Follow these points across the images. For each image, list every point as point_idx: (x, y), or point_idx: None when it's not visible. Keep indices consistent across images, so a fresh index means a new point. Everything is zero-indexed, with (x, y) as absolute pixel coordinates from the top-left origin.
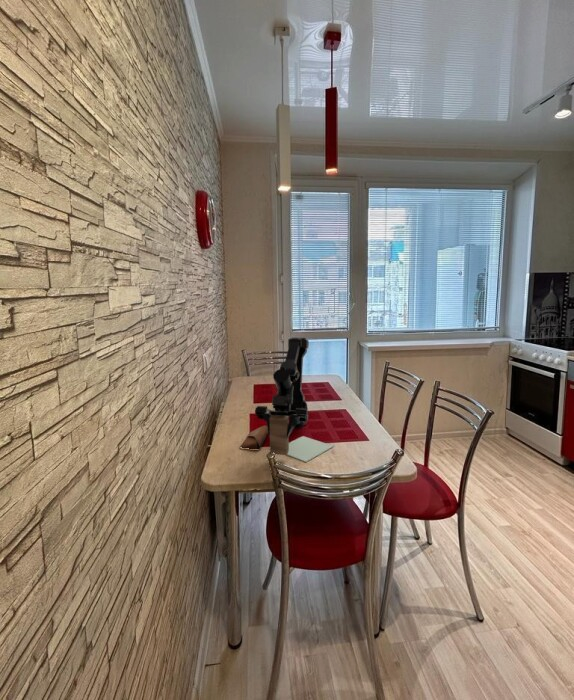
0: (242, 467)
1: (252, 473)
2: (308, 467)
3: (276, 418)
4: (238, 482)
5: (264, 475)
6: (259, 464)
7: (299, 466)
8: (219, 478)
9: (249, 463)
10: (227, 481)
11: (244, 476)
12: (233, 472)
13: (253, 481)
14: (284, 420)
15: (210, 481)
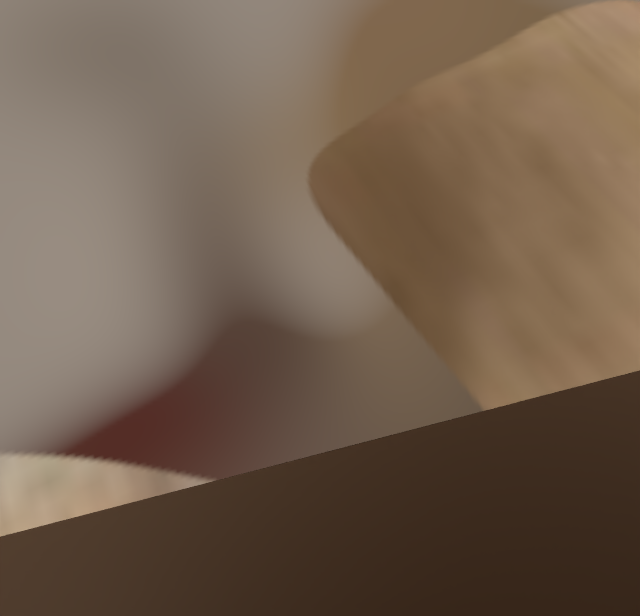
0: (589, 252)
1: (448, 205)
2: (22, 512)
3: (539, 476)
4: (459, 70)
5: (343, 217)
6: (492, 363)
7: (114, 493)
8: (615, 58)
9: (587, 340)
10: (536, 52)
11: (475, 146)
12: (592, 159)
13: (371, 118)
14: (46, 531)
15: (636, 11)
